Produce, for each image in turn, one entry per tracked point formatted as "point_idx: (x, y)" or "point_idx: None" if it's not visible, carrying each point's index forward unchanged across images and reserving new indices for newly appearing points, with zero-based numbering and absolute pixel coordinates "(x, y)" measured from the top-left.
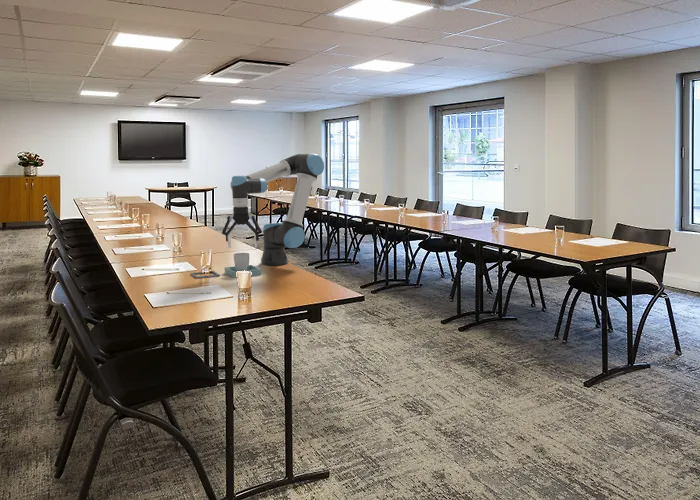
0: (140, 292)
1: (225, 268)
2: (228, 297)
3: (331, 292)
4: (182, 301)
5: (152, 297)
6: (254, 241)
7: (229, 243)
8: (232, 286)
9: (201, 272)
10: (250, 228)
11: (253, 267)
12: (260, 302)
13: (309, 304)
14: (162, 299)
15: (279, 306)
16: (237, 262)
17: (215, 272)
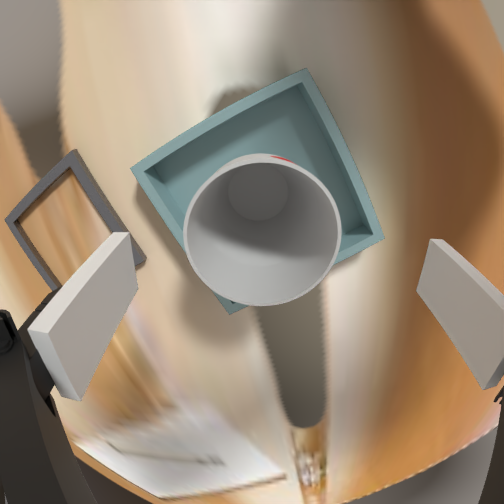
0: None
1: (140, 181)
2: (276, 479)
3: (483, 416)
4: (188, 488)
5: (111, 464)
6: (446, 332)
7: (119, 320)
8: (264, 419)
9: (34, 199)
10: (486, 484)
11: (330, 137)
12: (342, 486)
13: (416, 474)
14: (141, 476)
15: (370, 490)
16: (237, 266)
17: (97, 198)
